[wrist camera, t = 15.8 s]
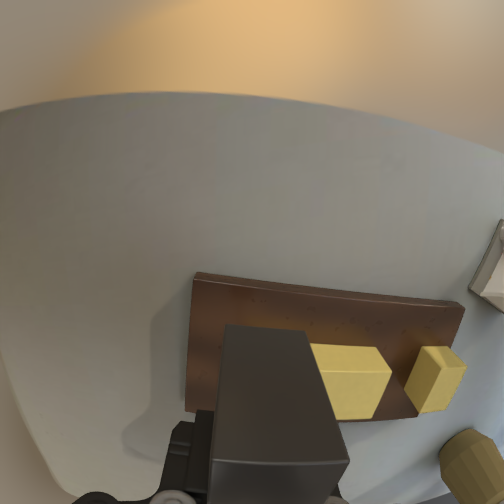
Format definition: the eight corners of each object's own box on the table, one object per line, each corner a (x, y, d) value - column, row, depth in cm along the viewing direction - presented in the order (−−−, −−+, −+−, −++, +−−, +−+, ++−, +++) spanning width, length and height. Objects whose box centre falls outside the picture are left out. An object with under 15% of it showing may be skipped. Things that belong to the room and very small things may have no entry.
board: (196, 271, 22) (193, 278, 21) (456, 301, 23) (466, 308, 22) (187, 400, 25) (184, 411, 24) (411, 408, 26) (417, 417, 25)
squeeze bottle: (419, 465, 29) (467, 565, 12) (456, 421, 27) (524, 524, 10) (456, 461, 30) (504, 546, 13) (490, 420, 28) (552, 504, 11)
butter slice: (421, 346, 22) (441, 368, 19) (447, 345, 23) (467, 366, 19) (403, 389, 24) (419, 413, 20) (428, 387, 24) (445, 410, 20)
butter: (245, 336, 22) (245, 364, 18) (375, 346, 22) (392, 371, 19) (237, 385, 23) (237, 415, 19) (358, 391, 23) (371, 418, 20)
